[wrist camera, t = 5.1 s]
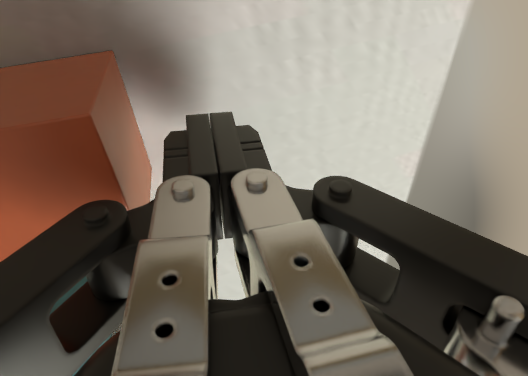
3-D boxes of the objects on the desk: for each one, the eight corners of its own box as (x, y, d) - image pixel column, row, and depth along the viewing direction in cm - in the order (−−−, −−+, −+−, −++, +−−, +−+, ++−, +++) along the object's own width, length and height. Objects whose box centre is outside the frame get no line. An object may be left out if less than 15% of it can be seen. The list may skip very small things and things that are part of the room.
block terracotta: (-40, 73, 12) (-130, 151, 8) (112, 49, 12) (89, 113, 9) (29, 191, 15) (-16, 287, 11) (152, 168, 15) (147, 254, 11)
